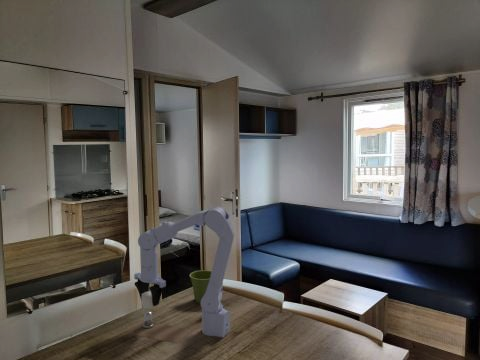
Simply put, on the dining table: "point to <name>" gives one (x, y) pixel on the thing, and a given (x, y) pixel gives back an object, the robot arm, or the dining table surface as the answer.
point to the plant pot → (200, 283)
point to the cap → (147, 300)
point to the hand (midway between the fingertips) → (150, 302)
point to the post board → (158, 330)
